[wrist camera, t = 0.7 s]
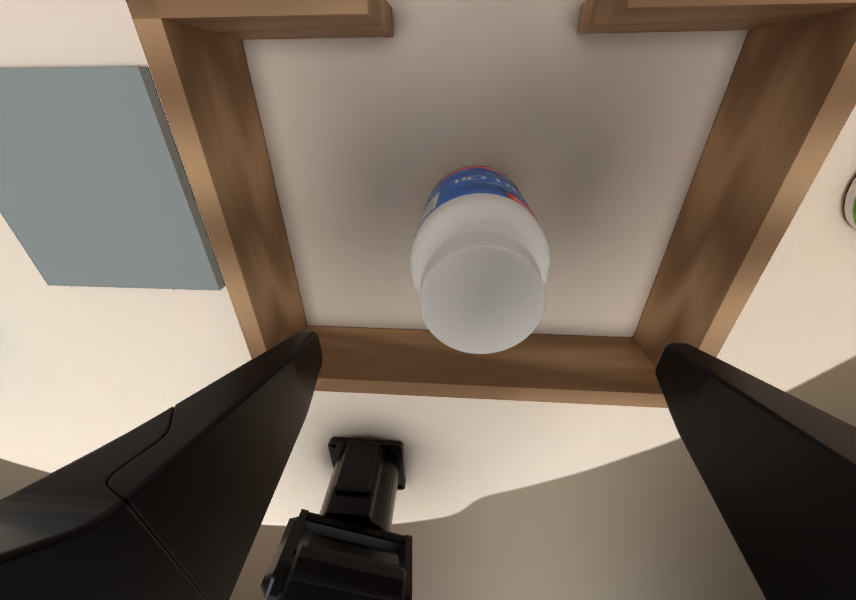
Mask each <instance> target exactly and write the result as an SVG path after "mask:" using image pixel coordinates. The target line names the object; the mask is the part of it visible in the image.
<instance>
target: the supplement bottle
mask: <svg viewBox="0 0 856 600" xmlns="http://www.w3.org/2000/svg"><path fill="white" fill-rule="evenodd" d="M845 216H846V219H847V221H848V222H849V224H850V225H851V226H852V227H853V228H854V229H856V178H855V179H854V181H853V182H852V184H851V186H850V188H849V191H848V193H847V196H846V200H845Z"/></svg>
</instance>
